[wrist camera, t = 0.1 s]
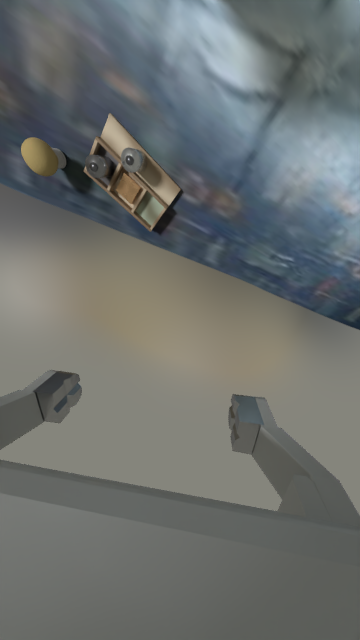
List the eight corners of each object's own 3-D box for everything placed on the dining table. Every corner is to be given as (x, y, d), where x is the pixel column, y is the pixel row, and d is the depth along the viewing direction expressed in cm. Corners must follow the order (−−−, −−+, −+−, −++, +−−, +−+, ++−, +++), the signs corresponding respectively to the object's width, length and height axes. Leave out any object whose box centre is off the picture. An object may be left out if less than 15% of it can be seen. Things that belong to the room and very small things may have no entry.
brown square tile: (125, 172, 45) (124, 172, 44) (141, 187, 46) (140, 188, 46) (117, 189, 47) (115, 190, 47) (132, 203, 49) (130, 204, 48)
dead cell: (102, 151, 43) (87, 149, 38) (117, 165, 44) (105, 165, 39) (95, 168, 45) (81, 168, 40) (110, 181, 46) (97, 183, 41)
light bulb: (60, 135, 43) (27, 128, 36) (78, 168, 47) (52, 168, 39) (41, 148, 45) (7, 145, 38) (60, 179, 49) (32, 181, 41)
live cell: (136, 144, 41) (125, 141, 36) (150, 159, 43) (142, 159, 38) (127, 162, 44) (116, 161, 39) (141, 176, 45) (132, 177, 40)
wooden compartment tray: (112, 114, 40) (105, 110, 37) (181, 188, 47) (179, 190, 44) (89, 172, 47) (82, 172, 44) (152, 229, 54) (149, 233, 51)
